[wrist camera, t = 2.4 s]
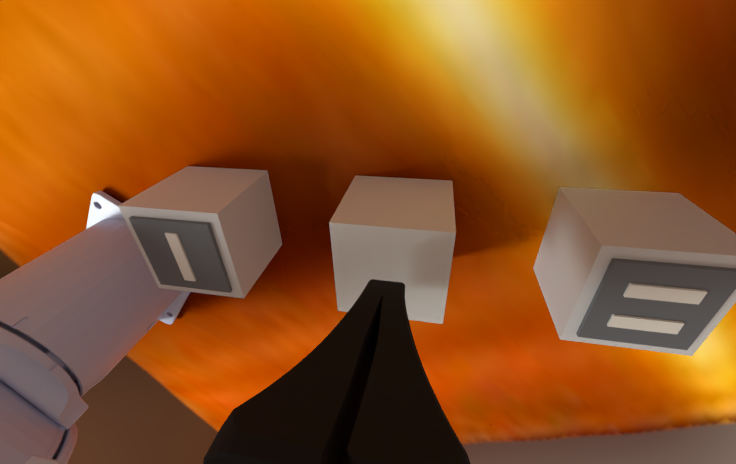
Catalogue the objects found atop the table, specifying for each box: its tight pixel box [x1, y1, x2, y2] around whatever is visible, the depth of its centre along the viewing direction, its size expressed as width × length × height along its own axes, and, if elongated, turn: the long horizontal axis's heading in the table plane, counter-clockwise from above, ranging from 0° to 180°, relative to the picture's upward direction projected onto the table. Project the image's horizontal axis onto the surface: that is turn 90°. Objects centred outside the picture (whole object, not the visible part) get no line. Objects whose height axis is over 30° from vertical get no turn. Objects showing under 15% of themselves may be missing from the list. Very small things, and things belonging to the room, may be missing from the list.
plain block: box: [329, 175, 456, 324], centre depth 16 cm, size 5×5×5 cm
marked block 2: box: [533, 187, 736, 356], centre depth 14 cm, size 5×5×5 cm
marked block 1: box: [118, 166, 282, 298], centre depth 18 cm, size 5×5×5 cm
